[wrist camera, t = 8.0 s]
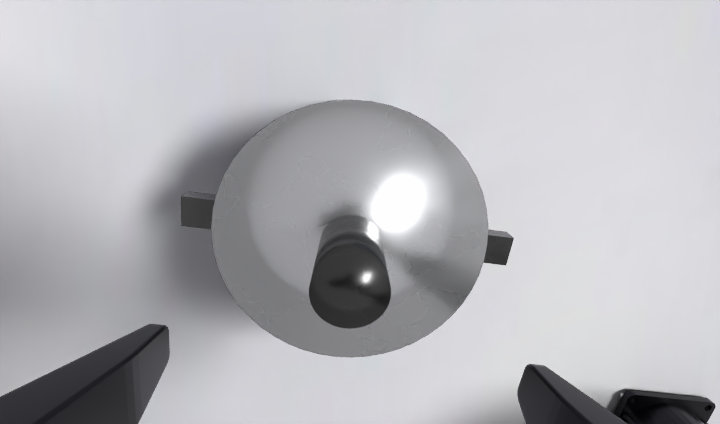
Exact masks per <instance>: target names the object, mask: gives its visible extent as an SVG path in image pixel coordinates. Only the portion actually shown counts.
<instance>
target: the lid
mask: <svg viewBox="0 0 720 424" xmlns="http://www.w3.org/2000/svg"><path fill="white" fill-rule="evenodd" d="M211 230H212V245H213V250H214V255H215V260H216V263H217V266H218V268H219V271H220V274H221V277H222V279H223V281H224V283H225V285H226V287H227V289H228V290H229V292H230V293H231V295H232V296H233V298H234V299H235V301H236V302H237V304H238V305H239V306H240V307H241V308H242V309H243V311H244V312H245V313H246V314H247V315H248V316H249V317H250V318H251V319H252V320H253V321H254V322H256V323H257V324H258V325H259V326H260V327H261V328H263V329H264V330H266V331H267V332H269V333H270V334H272V335H273V336H274V337H276V338H278V339H280V340H282V341H284V342H286V343H288V344H290V345H292V346H295V347H298V348H300V349H303V350H306V351H310V352H313V353H317V354H322V355H328V356H335V357H364V356H372V355H378V354H383V353H387V352H390V351H394V350H397V349H400V348H402V347H405V346H407V345H410V344H412V343H414V342H416V341H418V340H420V339H421V338H423V337H425V336H427V335H428V334H430V333H431V332H433V331H434V330H435V329H437V328H438V327H440V326H441V325H442V324H443V323H444V322H445V321H446V320H448V319H449V318H450V317H451V316H452V315H453V314H454V313H455V311H456V310H457V309H458V308H459V307H460V306H461V305H462V303H463V302H464V300H465V299H466V297H467V296H468V294H469V293H470V291H471V290H472V288H473V286H474V284H475V282H476V280H477V278H478V276H479V273H480V270H481V267H482V265H483V262H484V258H485V253H486V248H487V240H488V219H487V209H486V205H485V200H484V196H483V192H482V190H481V187H480V185H479V182H478V179H477V177H476V175H475V173H474V171H473V170H472V168H471V166H470V164H469V163H468V161H467V160H466V158H465V157H464V156H463V154H462V153H461V152H460V151H459V149H458V148H457V147H456V146H455V145H454V144H453V143H452V142H451V141H450V140H449V139H448V138H447V137H446V136H445V135H444V134H443V133H442V132H440V131H439V130H438V129H436V128H435V127H434V126H432V125H431V124H429V123H428V122H427V121H425V120H423V119H421V118H419V117H417V116H415V115H413V114H412V113H410V112H407V111H404V110H402V109H399V108H396V107H393V106H390V105H386V104H381V103H377V102H372V101H363V100H336V101H328V102H323V103H318V104H313V105H309V106H306V107H303V108H301V109H298V110H295V111H292V112H290V113H288V114H286V115H284V116H282V117H280V118H278V119H276V120H274V121H273V122H271V123H270V124H269V125H267V126H266V127H264V128H263V129H262V130H260V131H259V132H257V133H256V134H255V135H254V136H253V137H252V138H251V139H250V140H249V141H248V142H247V143H246V144H245V145H244V146H243V147H242V149H241V150H240V151H239V152H238V154H237V155H236V156H235V157H234V159H233V160H232V162H231V163H230V165H229V167H228V169H227V170H226V172H225V174H224V176H223V178H222V181H221V183H220V186H219V188H218V191H217V194H216V198H215V202H214V207H213V213H212V225H211Z"/></svg>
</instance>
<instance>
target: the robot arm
mask: <svg viewBox="0 0 720 424" xmlns="http://www.w3.org/2000/svg"><path fill="white" fill-rule="evenodd" d="M169 353H170V351H169V329H168V327H167V326H165V325H157V324H149V325H146V326H144V327H142V328H140V329H138V330H136V331H134V332H132V333H130V334H128V335H126V336H124V337H122V338H120V339H118V340H116V341H114V342H111V343H109V344H107V345H105V346H103V347H101V348H99V349H97V350H95V351H93V352H91V353H89V354H87V355H85V356H83V357H81V358H79V359H77V360H75V361H73V362H71V363H69V364H67V365H64V366H62V367H60V368H58V369H56V370H54V371H52V372H50V373H48V374H46V375H44V376H42V377H40V378H38V379H36V380H34V381H32V382H30V383H28V384H26V385H24V386H21V387H19V388H17V389H15V390H13V391H11V392H9V393H7V394H5V395H3V396H1V397H0V424H138V423H139V421H140V419H141V417H142V415H143V413H144V411H145V409H146V407H147V405H148V402H149V400H150V398H151V396H152V394H153V392H154V390H155V388H156V386H157V384H158V382H159V380H160V378H161V376H162V373H163V371H164V369H165V367H166V365H167V363H168V360H169ZM518 400H519V403H520V407H521V410H522V413H523V416H524V419H525V423H526V424H708V423H707V421H708V420H709V418H710V416H711V414H712V413H713V411H714V409H715V404H714V403H713V402H712V401H710V400H709V399H708V398H702V397H693V396H683V395H673V394H663V393H653V392H644V391H634V390H630V391H627V392H626V393H624V395H623V396H622V399H621V401H620V403H619V405H618V407H617V410H616V412H615V414H613V413H611V412H610V411H608V410H607V409H605V408H604V407H603V406H601V405H600V404H598V403H597V402H595V401H594V400H593V399H591V398H590V397H588V396H587V395H586V394H584V393H583V392H581V391H580V390H578V389H577V388H576V387H574V386H573V385H571V384H570V383H568V382H567V381H566V380H564V379H563V378H561V377H560V376H559V375H557V374H556V373H554V372H553V371H551V370H550V369H549V368H547V367H546V366H543V365H535V364H529V365H527V366H526V367H525V370H524V373H523V375H522V378H521V381H520V384H519V387H518Z"/></svg>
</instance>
